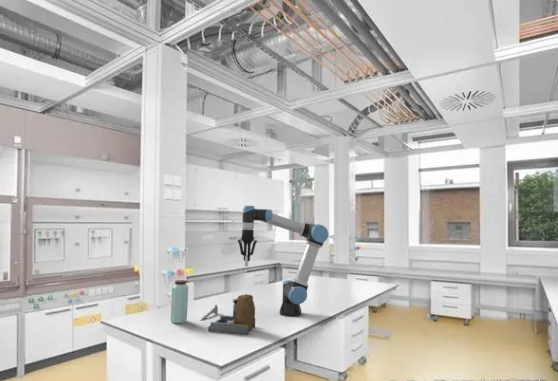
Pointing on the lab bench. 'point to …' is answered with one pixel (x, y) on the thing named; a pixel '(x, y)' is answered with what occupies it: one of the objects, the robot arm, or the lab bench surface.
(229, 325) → the bay
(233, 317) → the bar
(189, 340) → the lab bench surface
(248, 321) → the brown stone
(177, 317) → the water bottle
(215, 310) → the caliper
